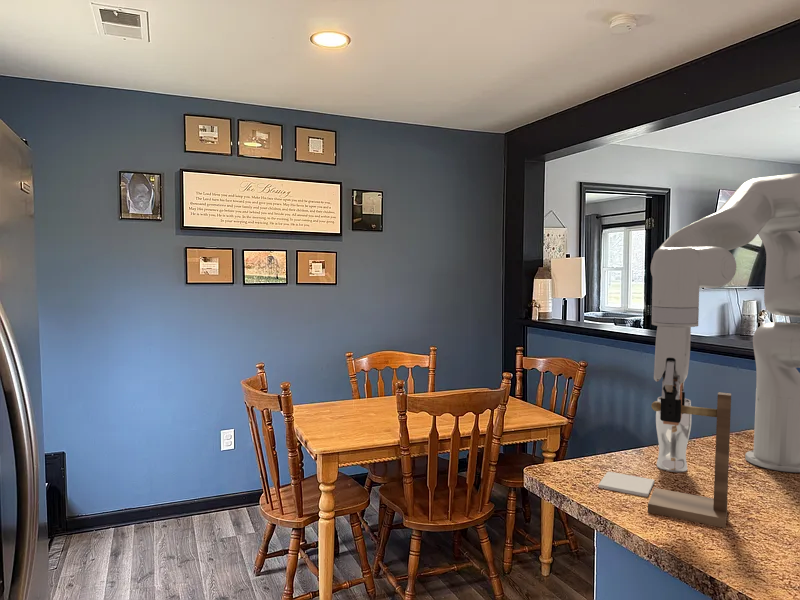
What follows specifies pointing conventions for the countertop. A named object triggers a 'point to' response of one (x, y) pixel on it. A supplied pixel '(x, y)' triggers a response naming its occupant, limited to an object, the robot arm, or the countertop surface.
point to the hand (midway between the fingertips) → (672, 416)
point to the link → (681, 404)
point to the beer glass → (673, 442)
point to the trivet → (627, 484)
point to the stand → (714, 508)
